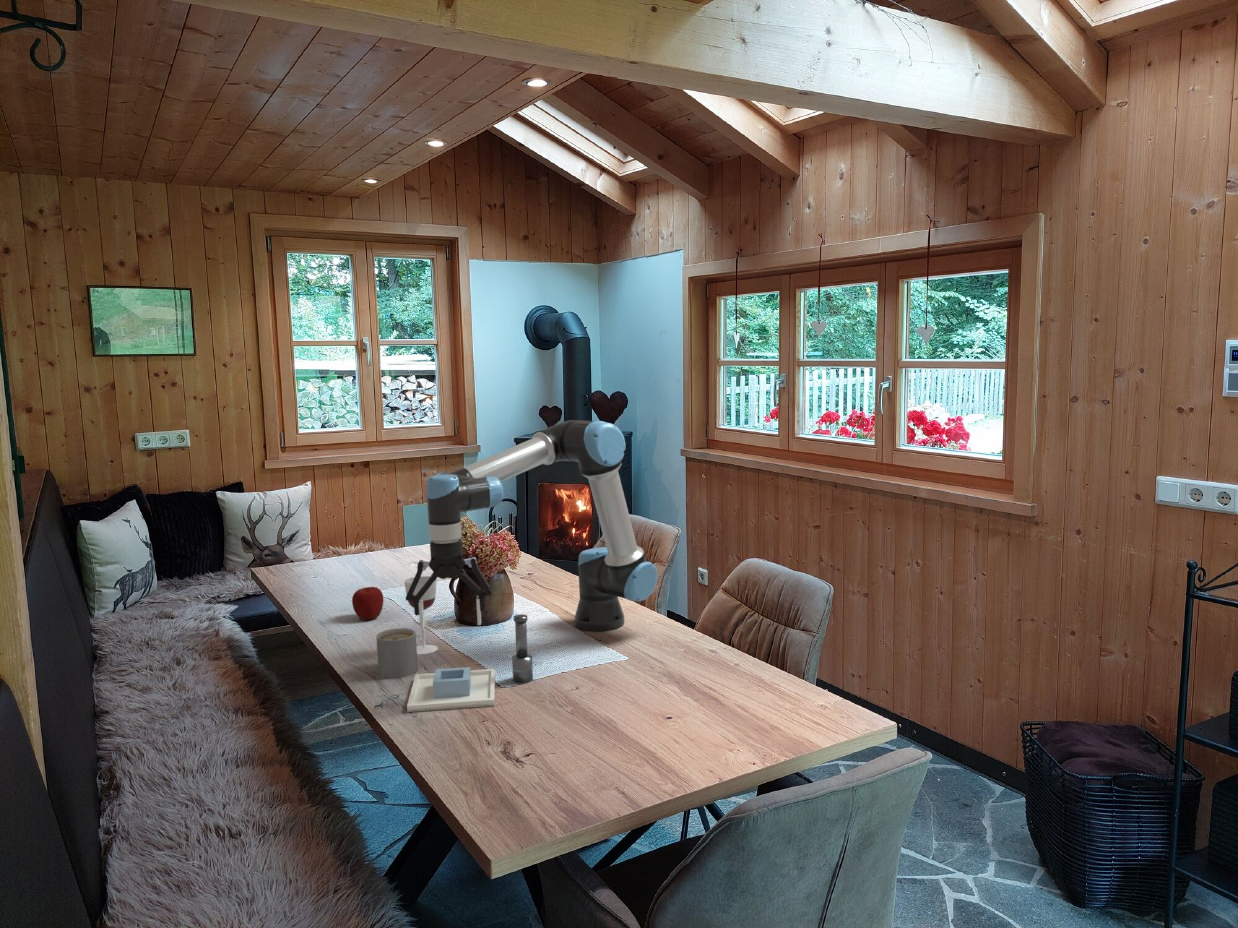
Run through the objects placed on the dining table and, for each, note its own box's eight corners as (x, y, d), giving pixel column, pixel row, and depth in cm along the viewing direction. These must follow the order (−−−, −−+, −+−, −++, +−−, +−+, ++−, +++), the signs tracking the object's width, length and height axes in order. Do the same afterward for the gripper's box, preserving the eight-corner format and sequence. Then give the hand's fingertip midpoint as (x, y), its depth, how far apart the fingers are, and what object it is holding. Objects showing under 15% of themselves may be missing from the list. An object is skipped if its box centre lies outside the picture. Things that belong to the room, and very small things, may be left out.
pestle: (532, 675, 219) (530, 612, 217) (533, 682, 214) (530, 618, 212) (512, 676, 219) (510, 614, 217) (513, 683, 214) (510, 620, 212)
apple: (346, 621, 268) (344, 590, 267) (366, 612, 277) (364, 582, 275) (371, 624, 264) (369, 592, 263) (390, 615, 273) (389, 584, 272)
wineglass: (432, 655, 236) (429, 584, 233) (403, 653, 238) (399, 583, 235) (444, 645, 244) (440, 576, 241) (415, 643, 245) (412, 575, 243)
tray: (495, 674, 221) (495, 668, 220) (494, 705, 201) (494, 699, 201) (415, 679, 218) (415, 674, 218) (407, 712, 198) (406, 705, 198)
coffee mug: (423, 672, 223) (421, 635, 222) (385, 680, 218) (383, 643, 217) (406, 657, 234) (404, 622, 233) (369, 665, 229) (367, 629, 228)
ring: (469, 695, 206) (468, 679, 205) (433, 698, 205) (432, 682, 204) (471, 682, 214) (470, 666, 213) (436, 684, 213) (435, 669, 212)
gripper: (498, 533, 210) (502, 616, 213) (394, 539, 207) (400, 624, 210) (498, 540, 202) (502, 626, 205) (390, 546, 199) (396, 634, 202)
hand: (451, 625), depth 207 cm, fingers open, 13 cm apart
